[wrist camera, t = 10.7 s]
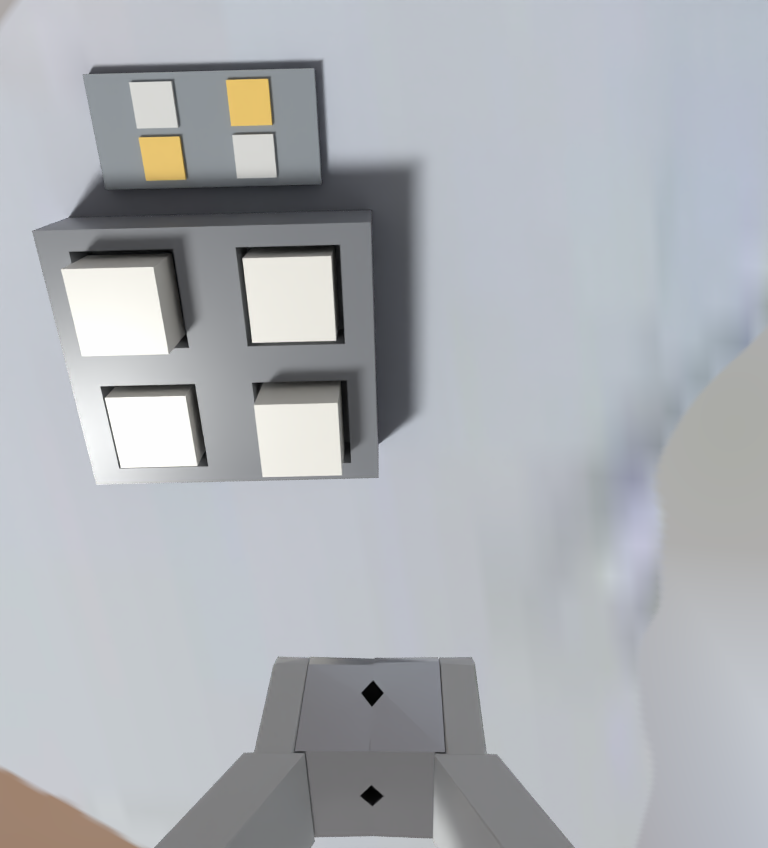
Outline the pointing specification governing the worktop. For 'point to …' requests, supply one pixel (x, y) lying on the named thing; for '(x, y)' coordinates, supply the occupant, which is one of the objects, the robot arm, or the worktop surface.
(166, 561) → the worktop surface
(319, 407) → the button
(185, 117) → the pattern card
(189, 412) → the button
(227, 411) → the button board
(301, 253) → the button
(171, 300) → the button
